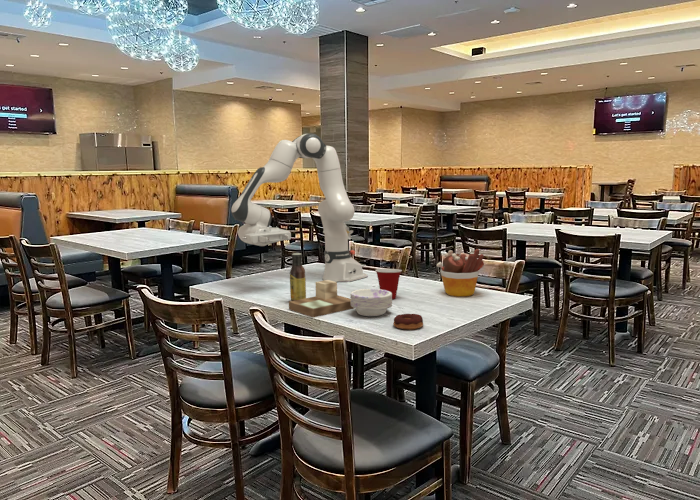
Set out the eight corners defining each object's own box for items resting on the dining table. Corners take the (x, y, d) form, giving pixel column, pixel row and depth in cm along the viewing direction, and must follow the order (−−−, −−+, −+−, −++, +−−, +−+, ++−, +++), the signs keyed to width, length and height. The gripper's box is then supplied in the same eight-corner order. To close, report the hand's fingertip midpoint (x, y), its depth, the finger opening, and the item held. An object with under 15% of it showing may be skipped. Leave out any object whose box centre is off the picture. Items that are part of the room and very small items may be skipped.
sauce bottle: (290, 300, 219) (289, 252, 216) (306, 300, 219) (304, 252, 216) (290, 304, 212) (288, 254, 209) (306, 303, 213) (304, 254, 210)
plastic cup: (404, 295, 223) (404, 267, 221) (398, 301, 213) (398, 272, 211) (379, 294, 226) (379, 266, 225) (372, 300, 216) (371, 271, 214)
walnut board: (330, 300, 217) (330, 292, 217) (356, 307, 205) (355, 299, 204) (288, 309, 205) (288, 301, 204) (313, 317, 192) (312, 308, 192)
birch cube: (328, 294, 215) (327, 279, 214) (337, 297, 210) (336, 282, 209) (315, 297, 211) (315, 282, 210) (324, 299, 206) (324, 284, 205)
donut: (387, 327, 179) (387, 316, 178) (404, 321, 186) (404, 310, 185) (412, 333, 172) (412, 321, 171) (429, 326, 179) (429, 314, 179)
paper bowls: (395, 308, 202) (394, 288, 201) (388, 319, 187) (388, 297, 186) (355, 307, 205) (355, 287, 204) (346, 318, 191) (345, 296, 190)
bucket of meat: (429, 292, 227) (429, 246, 224) (458, 287, 236) (458, 242, 233) (463, 301, 211) (464, 251, 208) (493, 295, 219) (493, 247, 217)
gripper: (239, 230, 230) (255, 233, 219) (280, 227, 243) (297, 229, 232) (240, 245, 231) (256, 248, 220) (281, 241, 244) (297, 243, 233)
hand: (277, 238), depth 226 cm, fingers open, 8 cm apart
